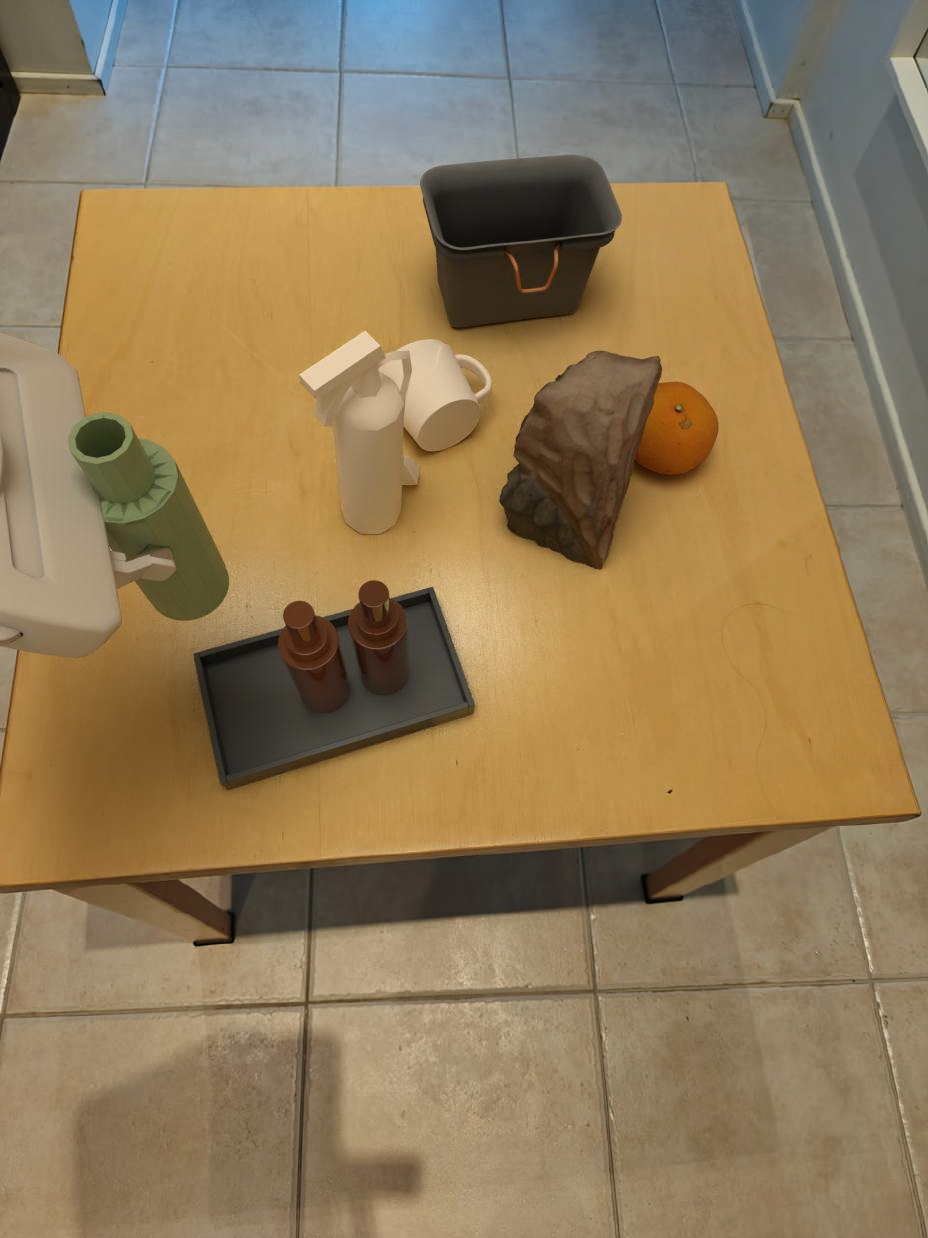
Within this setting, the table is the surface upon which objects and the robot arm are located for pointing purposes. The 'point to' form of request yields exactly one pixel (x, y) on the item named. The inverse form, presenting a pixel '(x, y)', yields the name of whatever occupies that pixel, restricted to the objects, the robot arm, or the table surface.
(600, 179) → the storage bin
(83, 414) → the robot arm
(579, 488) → the brown rock chunk
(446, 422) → the mug
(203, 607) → the green bottle
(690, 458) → the fruit
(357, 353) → the fire extinguisher
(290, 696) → the tray
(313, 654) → the bottle row
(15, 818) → the table surface
